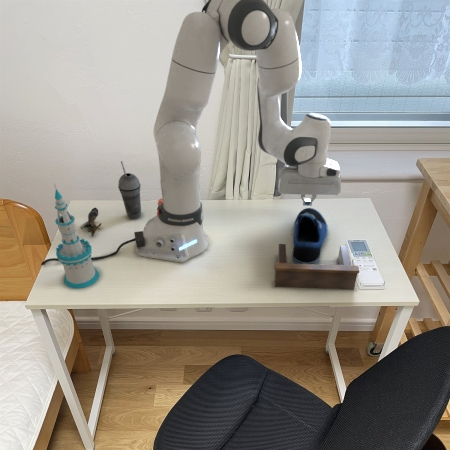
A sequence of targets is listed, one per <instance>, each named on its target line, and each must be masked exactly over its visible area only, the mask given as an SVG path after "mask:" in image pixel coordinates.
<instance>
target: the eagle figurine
mask: <svg viewBox="0 0 450 450" xmlns="http://www.w3.org/2000/svg"><path fill="white" fill-rule="evenodd" d="M98 216H99V209H98V207H93V208H92V209H91V210H90V211H89V213H88V215H87V218H88V219H87V221H85V222H84V223H83V224H82V225H81V226H80V230H85V228H87V229H88V231H87V232H88V233H91V237H94V234H95V232H96V230H100V229H101V228H100V227H101V225H102V223H101V222H100V223H99V224H98V225H97V224H96V222H95V221H96V219H97V217H98Z"/></svg>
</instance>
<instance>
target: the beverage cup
mask: <svg viewBox="0 0 450 450" xmlns="http://www.w3.org/2000/svg"><path fill="white" fill-rule="evenodd" d="M120 163H121V167H122V170H123V174H122V175H121V176H120V177H119V179H118V187H117V188H118V190H119V193H120V195H121V198H122V202H123V205H124V209H125V212H126V214H127V218H128V219H129V220H134V221H135V220H139V219H140V218H141V217H142V204H141V185H142V184H141V182H140V180H139V178H138V177H137V175H135V174H133V173H131V172H126V169H125V165H124V162H123V161H122V160H121V161H120Z"/></svg>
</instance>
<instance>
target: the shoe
mask: <svg viewBox="0 0 450 450" xmlns="http://www.w3.org/2000/svg"><path fill="white" fill-rule="evenodd" d="M293 227H294V233H293V239H292V240H293V241H292V243H293V250H292V254H291V255H292V264H319V260H320V258H321V252H322V248H323V246H324V244H325V242H326V239H327V238H328V234H329V227H328V223H327V221H326V219H325V217H324V216H323V214H322V213H321V212H320V211H319V210H317V209H315V208H312V207H305V208H303V209H302V210H301V211H299V212H298V214H297V215H296V217H295V221H294V224H293Z"/></svg>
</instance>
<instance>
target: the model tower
mask: <svg viewBox="0 0 450 450" xmlns="http://www.w3.org/2000/svg"><path fill="white" fill-rule="evenodd" d="M53 186H54V188H55V193H54V199H55V206H54V208H55V210H57V211H56V212H57V213H56V214H57V217H56V219H55V220H54V222H55V224H56V225H57V228H58V231H59V233H60V234H61V242H62V243H59V244H58V245H57V247H56V248H55V252H56V254H55V255H56V258H58V259H59V261H58V262H60V263H61V264H62V266H63V270H64V273H65V274H64V277H63V283H64V285H65V286H66V287H67V288H71V289H76V290H77V289H78V290H79V289H85V288H88V287H90V286H93V284H95V283H96V282H98V280H99V278H100V273H99V271H98V270H97V268H96V267H94V263H93V260H91V258H92V254H93V253H92V252H93V248H92V246H91V243H90V242H89V241H88V240H86V239H84V238H80V237H79V235H78V232H77V229H76V228H77V226H76V222H75V220H76V217H75V216H74V215H71V214H70V212H69V210H68V209H67V208H68V204H67V203H66V202H65V200H64V199H63V196H62V195H61V193H60V192H59V190H58V189H57V185H56V183H54V184H53Z"/></svg>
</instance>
